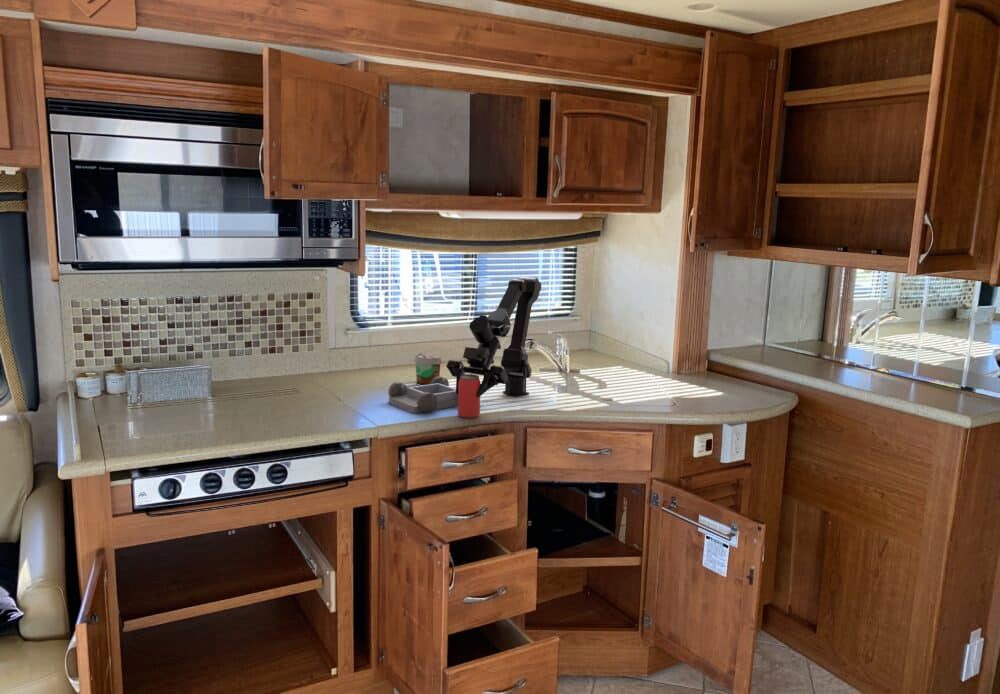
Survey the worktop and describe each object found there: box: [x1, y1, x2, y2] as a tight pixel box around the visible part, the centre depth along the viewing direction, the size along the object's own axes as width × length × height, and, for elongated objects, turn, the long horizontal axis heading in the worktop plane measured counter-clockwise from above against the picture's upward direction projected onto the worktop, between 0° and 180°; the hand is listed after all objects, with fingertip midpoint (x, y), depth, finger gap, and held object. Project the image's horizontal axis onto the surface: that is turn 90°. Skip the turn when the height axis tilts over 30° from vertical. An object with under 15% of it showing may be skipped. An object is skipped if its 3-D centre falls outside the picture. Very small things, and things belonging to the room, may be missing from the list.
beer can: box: [457, 373, 482, 419], centre depth 233 cm, size 7×7×12 cm
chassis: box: [387, 375, 458, 414], centre depth 247 cm, size 24×18×6 cm
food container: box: [413, 352, 443, 386], centre depth 271 cm, size 12×6×10 cm, turn 40°
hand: (467, 395), depth 231 cm, fingers closed on beer can, 7 cm apart
